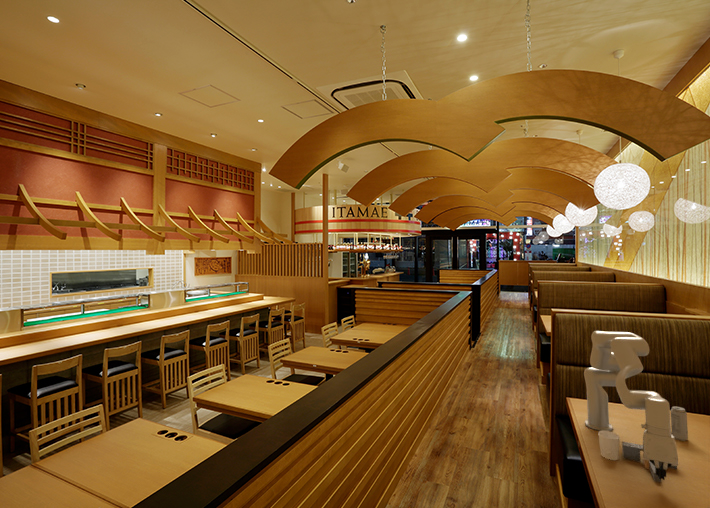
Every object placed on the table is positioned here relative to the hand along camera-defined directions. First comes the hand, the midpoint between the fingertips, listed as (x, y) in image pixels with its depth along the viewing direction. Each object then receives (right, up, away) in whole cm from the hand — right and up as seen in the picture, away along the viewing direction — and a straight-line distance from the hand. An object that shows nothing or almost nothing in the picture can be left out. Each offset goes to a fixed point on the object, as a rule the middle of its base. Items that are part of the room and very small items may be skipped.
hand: (661, 477), depth 140 cm
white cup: (-3, -6, +24) cm, 25 cm away
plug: (+6, -5, +11) cm, 13 cm away
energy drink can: (+43, -5, +39) cm, 58 cm away
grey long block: (+11, -5, +19) cm, 22 cm away
